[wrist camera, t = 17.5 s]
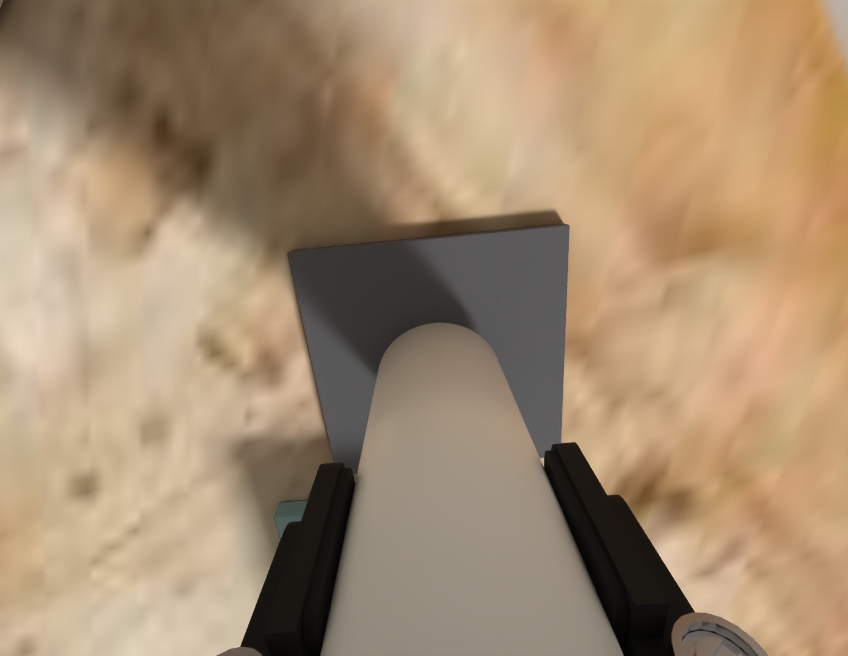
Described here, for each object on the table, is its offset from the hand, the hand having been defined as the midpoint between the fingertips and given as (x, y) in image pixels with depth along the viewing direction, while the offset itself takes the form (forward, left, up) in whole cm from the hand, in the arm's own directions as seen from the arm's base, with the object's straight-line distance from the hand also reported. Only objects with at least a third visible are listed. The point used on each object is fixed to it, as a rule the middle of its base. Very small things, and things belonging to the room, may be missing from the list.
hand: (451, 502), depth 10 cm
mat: (0, 0, -8) cm, 8 cm away
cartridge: (0, 0, -6) cm, 6 cm away
